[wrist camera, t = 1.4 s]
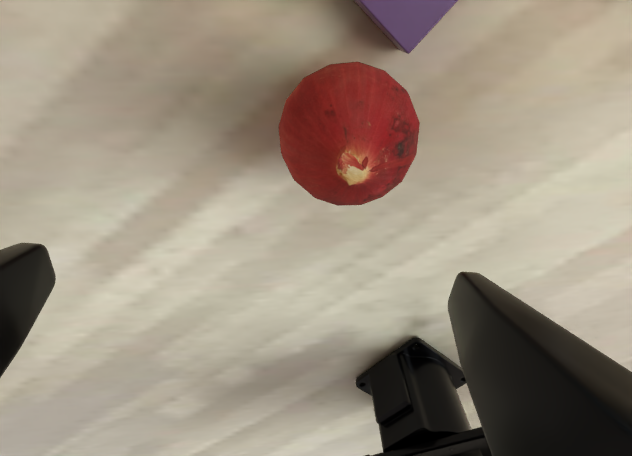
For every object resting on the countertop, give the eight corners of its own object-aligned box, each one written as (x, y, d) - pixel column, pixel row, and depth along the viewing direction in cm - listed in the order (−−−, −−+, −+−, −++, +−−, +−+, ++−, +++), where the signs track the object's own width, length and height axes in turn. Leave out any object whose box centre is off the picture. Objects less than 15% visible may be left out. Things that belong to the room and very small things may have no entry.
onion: (402, 49, 18) (461, 76, 11) (395, 165, 21) (438, 244, 14) (279, 56, 18) (260, 87, 11) (289, 171, 21) (279, 252, 14)
